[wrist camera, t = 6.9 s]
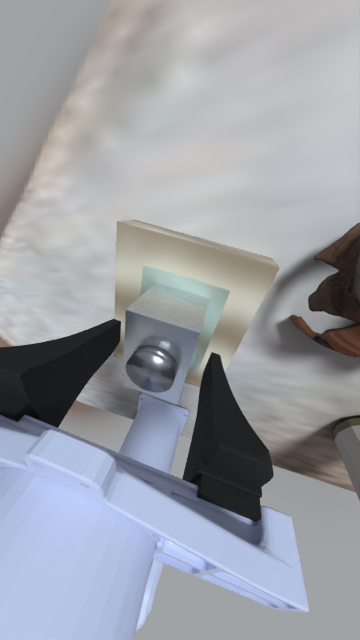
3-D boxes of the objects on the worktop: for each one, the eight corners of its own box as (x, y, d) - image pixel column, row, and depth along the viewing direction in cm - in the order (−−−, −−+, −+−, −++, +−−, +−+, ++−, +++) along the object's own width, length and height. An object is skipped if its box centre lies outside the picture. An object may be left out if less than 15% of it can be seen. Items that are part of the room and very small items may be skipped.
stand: (216, 372, 22) (214, 394, 20) (126, 340, 24) (112, 357, 21) (271, 258, 15) (280, 268, 12) (135, 220, 16) (114, 221, 13)
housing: (190, 360, 18) (173, 417, 13) (147, 346, 19) (115, 396, 14) (209, 297, 14) (197, 343, 9) (156, 282, 15) (116, 318, 10)
